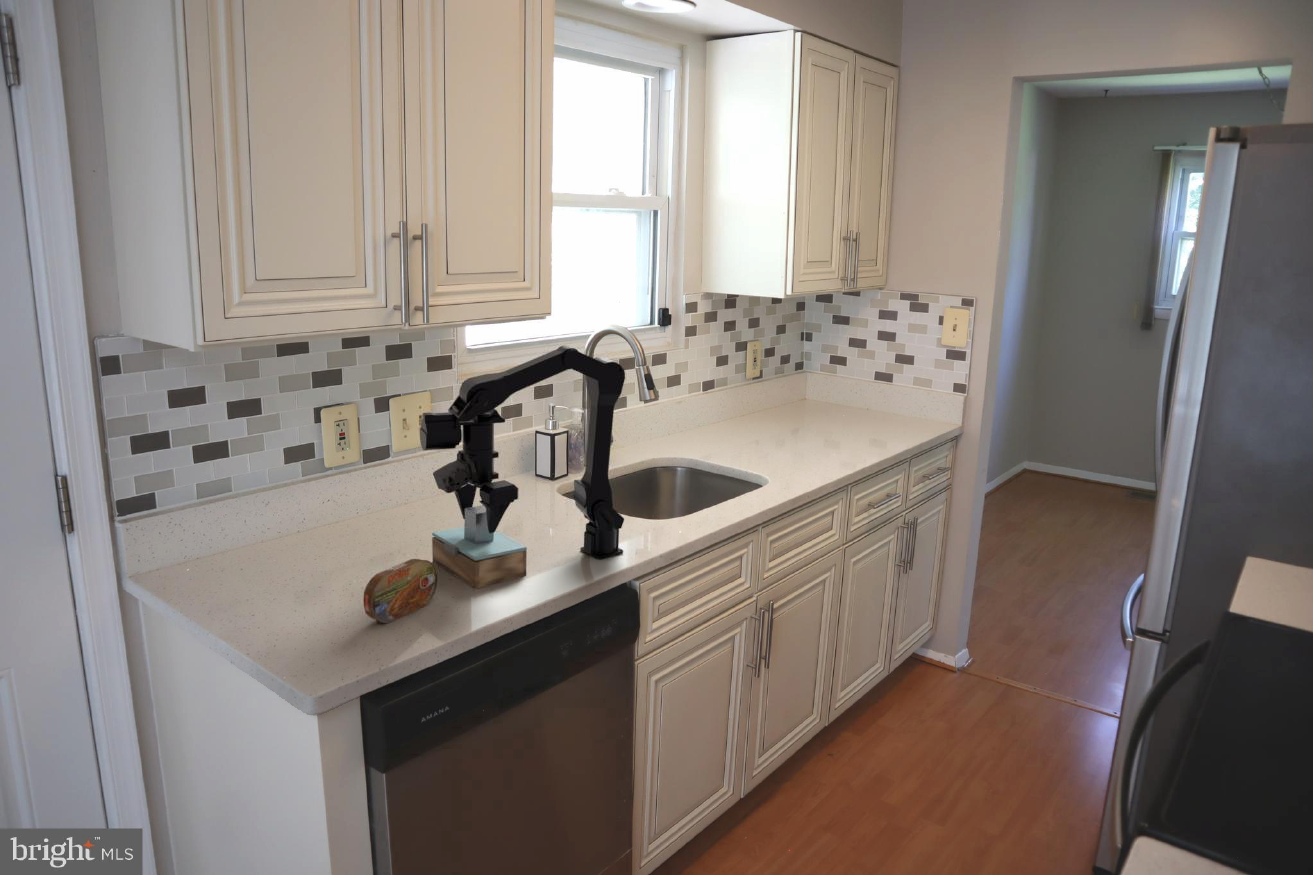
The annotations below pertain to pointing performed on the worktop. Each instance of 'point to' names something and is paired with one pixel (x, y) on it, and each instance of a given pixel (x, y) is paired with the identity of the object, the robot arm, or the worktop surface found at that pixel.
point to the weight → (477, 525)
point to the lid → (477, 551)
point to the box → (479, 566)
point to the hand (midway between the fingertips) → (478, 525)
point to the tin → (400, 590)
